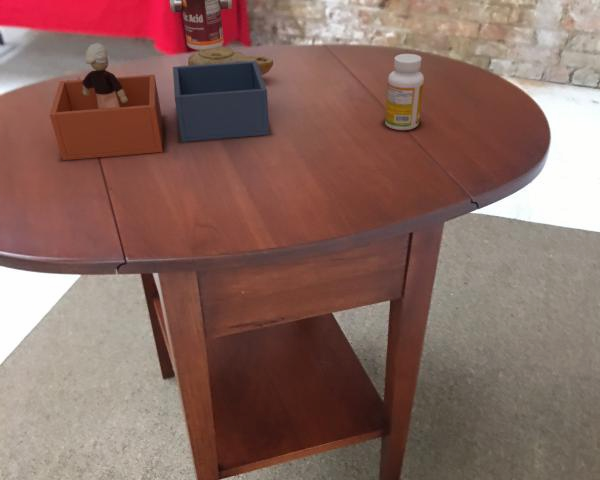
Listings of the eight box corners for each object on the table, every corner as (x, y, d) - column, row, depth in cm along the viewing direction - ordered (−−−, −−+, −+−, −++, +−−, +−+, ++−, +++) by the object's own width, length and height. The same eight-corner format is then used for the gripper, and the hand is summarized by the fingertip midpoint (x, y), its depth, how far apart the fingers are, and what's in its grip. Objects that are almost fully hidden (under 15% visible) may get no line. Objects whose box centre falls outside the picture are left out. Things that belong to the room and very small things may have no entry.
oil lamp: (276, 84, 114) (275, 53, 111) (198, 94, 111) (194, 64, 107) (260, 65, 121) (258, 36, 118) (186, 75, 118) (182, 45, 115)
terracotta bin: (62, 160, 93) (49, 114, 89) (71, 124, 103) (59, 81, 98) (162, 152, 95) (154, 106, 90) (161, 117, 104) (154, 74, 100)
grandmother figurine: (142, 130, 99) (125, 40, 90) (132, 140, 96) (114, 49, 87) (96, 127, 100) (75, 38, 91) (86, 136, 98) (62, 46, 89)
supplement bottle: (403, 114, 103) (410, 49, 96) (425, 125, 100) (434, 58, 93) (377, 122, 101) (382, 56, 94) (399, 134, 98) (405, 66, 91)
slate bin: (181, 142, 97) (174, 97, 92) (179, 108, 107) (172, 66, 102) (269, 134, 98) (266, 90, 94) (259, 102, 108) (256, 60, 103)
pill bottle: (179, 46, 82) (168, -30, 76) (205, 37, 85) (196, -38, 79) (206, 53, 80) (197, -25, 74) (231, 43, 83) (224, -33, 77)
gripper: (97, -121, 75) (112, -4, 75) (269, -128, 77) (283, -14, 77) (108, -80, 81) (121, 28, 81) (267, -88, 83) (280, 18, 83)
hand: (201, 8), depth 79 cm, fingers closed on pill bottle, 5 cm apart
